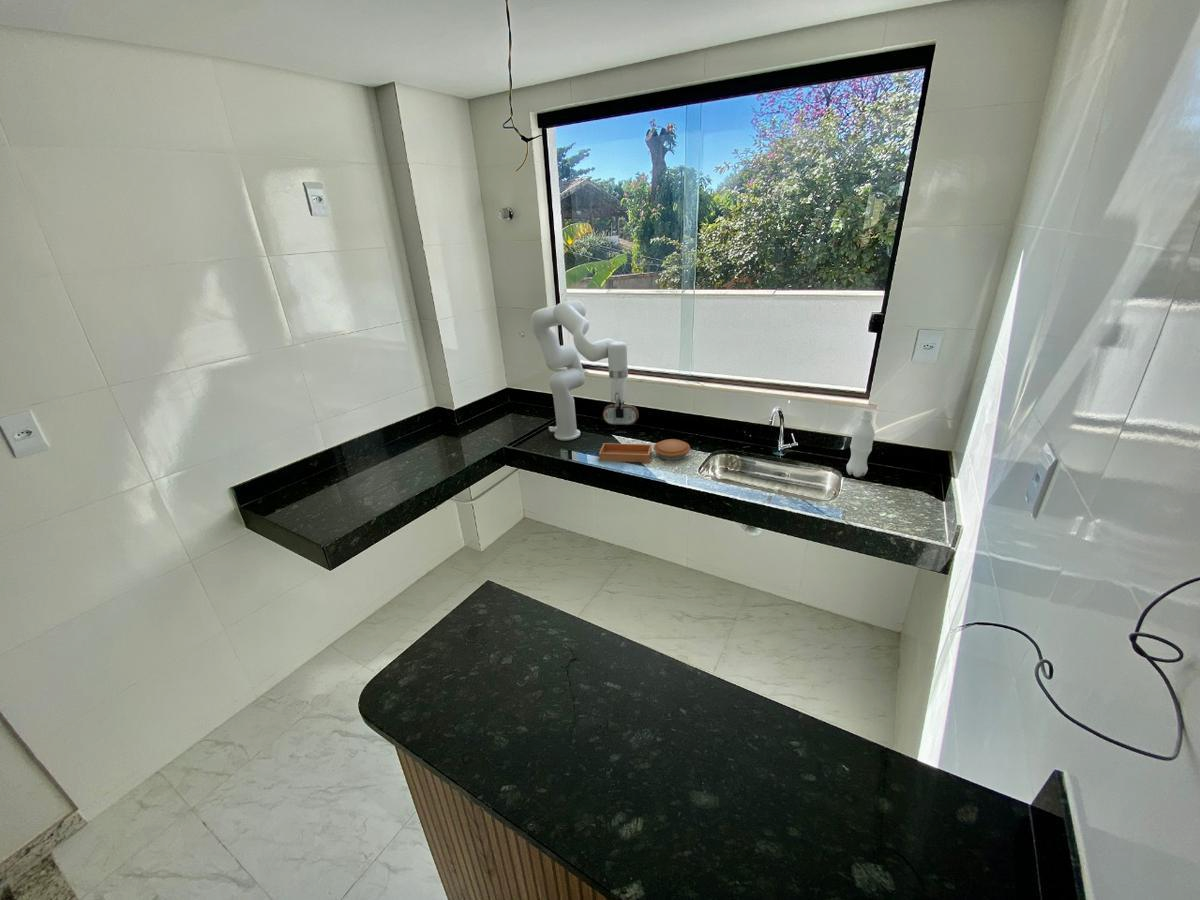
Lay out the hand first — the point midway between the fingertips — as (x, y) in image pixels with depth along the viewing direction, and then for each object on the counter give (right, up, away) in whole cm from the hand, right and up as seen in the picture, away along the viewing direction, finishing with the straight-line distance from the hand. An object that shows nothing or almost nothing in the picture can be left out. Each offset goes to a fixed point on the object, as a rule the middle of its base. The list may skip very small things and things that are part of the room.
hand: (620, 415), depth 201 cm
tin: (0, -4, +1) cm, 4 cm away
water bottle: (+89, -24, -17) cm, 93 cm away
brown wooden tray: (+3, -17, +8) cm, 19 cm away
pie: (+22, -16, +7) cm, 29 cm away
